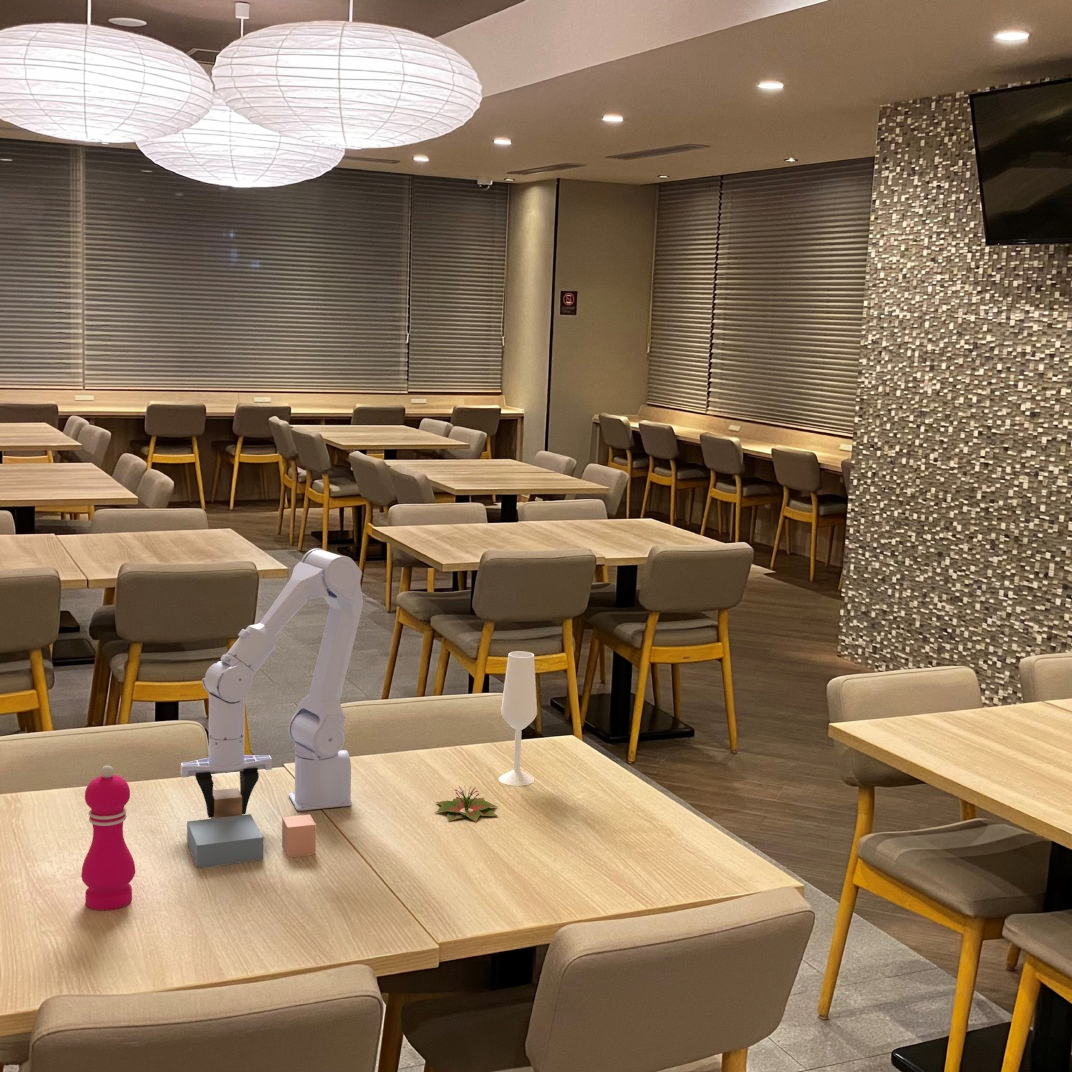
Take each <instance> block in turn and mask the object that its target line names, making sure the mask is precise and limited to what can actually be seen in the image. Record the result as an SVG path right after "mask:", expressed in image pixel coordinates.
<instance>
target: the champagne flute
mask: <svg viewBox="0 0 1072 1072" xmlns="http://www.w3.org/2000/svg"><path fill="white" fill-rule="evenodd" d="M535 665H536V664H535V654H534V653H533V652H529V651H523V650H522V651H518V650H517V651H511V652H509V653H508V654H507V663H506V669H505V678H504V685H503V693H502V701H501V708H500V713H501V716H502V718H503V720H504V721H505V722H506V723H507V724H508V725H509V726H510V727H511V728H512V729H514V753H513V755H514V756H513V769H512V770H510V771H508V772H505V773H504V774H502V775H500V776H499V777H498V781H499V782H500V783H502V784H504V785H507V786H513V787H517V786H518V787H520V786H521V787H522V786H529V785H531V784H533V783H534V782H535V779H534V777H533V776H531V775H529V774H528V773H526V772H525V771H523V770H521V751H522V750H521V749H522V748H521V747H522V730H524V729H526V728H527V727H528V726H529V725H531V723H533V721H534V720H535V718H537V715H538V706H537V705H538V704H537V687H536V686H537V685H536V684H537V683H536V668H535V667H536V666H535Z"/></svg>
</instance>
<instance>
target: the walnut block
mask: <svg viewBox="0 0 1072 1072" xmlns="http://www.w3.org/2000/svg"><path fill="white" fill-rule="evenodd" d="M212 800H213V817H212V818H210V819H213V818H221V817H230V816H238V815H243V814H242V796H241V793H240V789H239V788H238V787H235V788H234V787H233V788H222V789H213V798H212Z"/></svg>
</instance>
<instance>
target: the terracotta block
mask: <svg viewBox="0 0 1072 1072" xmlns="http://www.w3.org/2000/svg"><path fill="white" fill-rule="evenodd" d="M281 819H282V820H281V821H282V822H281V848H282V850H283V852H284V854H285V855H286V858H287V859H288V858H297V857H306V856H312V855H313V856H314V855H316V842H317V841H316V840H317V839H316V838H317V837H316V832H317V830H316V829H317V826H316V825H317V824H316V822H315V821H314V819H313V818H312V816H311V814H302V815H301V814H300V815H293V816H291V815H290V816H283V817H281Z"/></svg>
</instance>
